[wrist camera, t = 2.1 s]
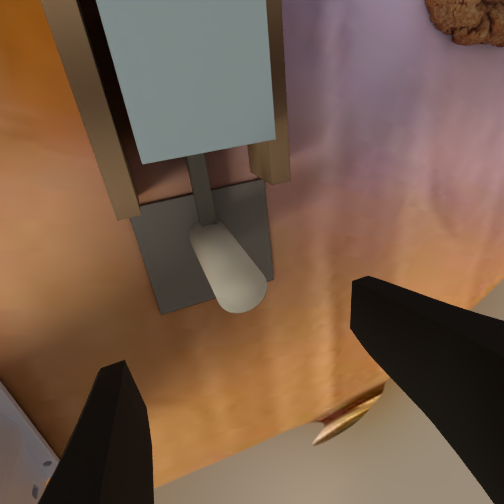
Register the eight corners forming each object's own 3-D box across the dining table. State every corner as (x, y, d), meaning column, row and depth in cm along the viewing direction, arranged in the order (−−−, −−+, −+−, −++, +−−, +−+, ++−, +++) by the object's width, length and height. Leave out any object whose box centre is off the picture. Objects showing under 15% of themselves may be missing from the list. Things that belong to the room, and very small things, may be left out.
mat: (272, 278, 22) (273, 279, 21) (161, 313, 20) (161, 314, 19) (262, 178, 18) (264, 178, 18) (126, 208, 16) (127, 209, 16)
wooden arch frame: (266, 168, 18) (290, 180, 15) (117, 200, 16) (117, 220, 13) (247, -52, 13) (276, -85, 11) (34, -48, 11) (10, -87, 9)
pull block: (251, 241, 19) (297, 294, 14) (169, 264, 18) (189, 330, 13) (221, 4, 14) (280, -47, 9) (99, 12, 12) (85, -42, 7)
